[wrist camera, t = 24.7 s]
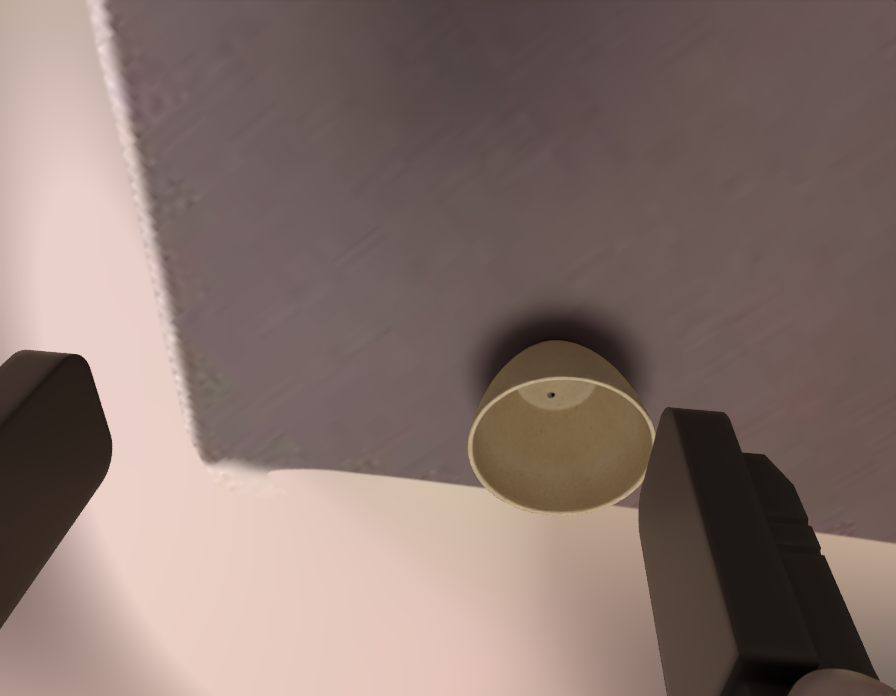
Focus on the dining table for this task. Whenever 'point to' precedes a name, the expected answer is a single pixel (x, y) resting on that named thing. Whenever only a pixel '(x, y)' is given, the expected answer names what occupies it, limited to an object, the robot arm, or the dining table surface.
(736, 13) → the dining table surface
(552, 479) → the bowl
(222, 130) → the dining table surface
